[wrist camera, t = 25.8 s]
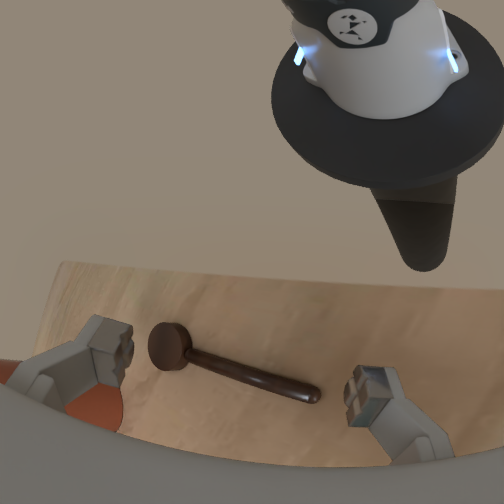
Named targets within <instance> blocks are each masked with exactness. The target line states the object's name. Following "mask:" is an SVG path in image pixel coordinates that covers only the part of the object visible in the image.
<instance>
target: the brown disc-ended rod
mask: <svg viewBox="0 0 504 504" xmlns="http://www.w3.org/2000/svg"><path fill="white" fill-rule="evenodd" d="M148 352H149V356H150V359H151V361H152V363H153V364H154V365H155V366H156V367H157V368H158V369H160V370H162V371H174V370H180V369H182V368H184V367H185V366H186V365H187V364H188V362H190V363H192V364H195V365H197V366H200V367H202V368H205V369H208V370H210V371H213V372H215V373H218V374H221V375H223V376H226V377H229V378H232V379H234V380H237V381H240V382H243V383H246V384H249V385H251V386H254V387H257V388H260V389H263V390H266V391H270V392H273V393H276V394H279V395H282V396H285V397H289V398H292V399H295V400H299V401H302V402H306V403H309V404H314V403H317V402H318V401H319V400H320V398H321V392H320V390H319V389H318V388H317V387H314V386H311V385H307V384H303V383H300V382H296V381H292V380H289V379H285V378H282V377H278V376H275V375H272V374H268V373H265V372H262V371H258V370H255V369H252V368H249V367H246V366H243V365H240V364H237V363H234V362H231V361H228V360H225V359H222V358H219V357H216V356H213V355H210V354H207V353H205V352H202V351H199V350H196V349H193V348H192V341H191V337H190V335H189V333H188V331H187V330H186V329H185V328H184V327H183V326H182V325H180V324H177V323H167V322H162V323H159V324H157V325H156V326H155V327H154V328H153V329H152V331H151V333H150V335H149V339H148Z"/></svg>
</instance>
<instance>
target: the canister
mask: <svg viewBox="0 0 504 504" xmlns="http://www.w3.org/2000/svg"><path fill="white" fill-rule="evenodd" d="M21 362H23V361H17V360H7V359H0V383H1V384H3V385H5V384H6V382H7V381H8V379H9V378H10V376H11V375H12V374H13V372H14V371H15V369H16V368H17V367H18V365H19V364H20V363H21ZM64 408H65V410H66V413H67V415H69V416H72V417H74V418H77V419H80V420H82V421H85V422H88V423H90V424H93V425H96V426H99V427H102V428H104V429H107V430H110V431H113V432H115V431H117V429H118V428H119V426H120V424H121V421H122V416H123V404H122V397H121V392H120V389H119V388H116V387H112V386H109V385H105V384H102V383H98V384H97V385H95V386H94V387H92V388H91V389H89V390H88V391H86V392H85V393H83V394H82V395H80V396H79V397H77V398H76V399H74V400H73V401H72V402H70V403H69V404H67V405H66V406H64Z"/></svg>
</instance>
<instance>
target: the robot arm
mask: <svg viewBox="0 0 504 504" xmlns="http://www.w3.org/2000/svg"><path fill="white" fill-rule="evenodd" d="M282 2H283V4H284V5H285V7H286V8H287V9H288V10H289V11H290V12H291V13H292V15H293V16H294V19H293V21H292V25H291V26H290V31H291V34H292V35H293V37H294V39H295V41H296V43H297V45H298V47H299V49H298V52H297V54H296V56H295V59H294V61H295V63H296V64H297V65H300V63H301V60H302V58H303V56H304V58H305V60H306V65H305V67H304V70H303V75H304V77H305V79H306V81H307V82H309V83H311V84H313V85H315V86H317V87H320V88H322V89H323V90H324V91H325V92H326V93H327V95H328V96H329V97H330V98H331V100H332V101H333V102H334V103H335V104H336V105H338V106H339V107H340V108H342V109H344V110H345V111H347V112H349V113H352V114H354V115H357V116H361V117H365V118H371V119H396V118H402V117H407V116H410V115H413V114H416V113H418V112H421V111H423V110H425V109H426V108H428V107H430V106H431V105H432V104H434V103H435V102H436V101H437V100H438V99H439V98H440V97H441V96H442V94H443V93H444V92H445V90H446V89H447V88H448V86H449V85H450V84H451V83H453V82H455V81H457V80H459V79H461V78H463V77H464V76H466V75H467V74H468V72H469V67H468V62H467V60H466V58H465V56H464V54H463V53H462V51H461V49H460V47H459V45H458V43H457V42H456V40H455V38H454V36H453V35H452V33H451V31H450V30H449V28H448V26H447V25H446V22H445V17H444V14H443V11H442V10H441V9H439V8H437V6H436V4H435V2H434V1H433V0H282ZM454 58H456V59H454ZM132 335H133V326H132V325H130V324H126V323H123V322H119V321H116V320H113V319H109V318H105V317H102V316H99V315H96V314H95V315H93V316H91V318H90V319H89V320H88V322H87V323H86V325H85V326H84V328H83V329H82V330H81V332H80V333H79V335H78V336H77V338H76V339H75V341H74V342H73V341H69V342H66V343H64V344H62V345H60V346H57V347H55V348H53V349H51V350H48V351H46V352H44V353H41V354H39V355H37V356H35V357H32V358H30V359H28V360H26V361H23V362H21V363H20V364H19V365H18V367H17V368H16V369H15V371H14V372H13V374H12V375H11V376H10V378H9V379H8V381H7V382H6V384H5V385H3V384H1V383H0V504H504V446H503V447H500V448H496V449H492V450H488V451H483V452H479V453H474V454H470V455H465V456H460V457H455V455H454V452H453V449H452V446H451V443H450V440H449V437H448V435H447V433H446V432H445V431H444V430H443V429H442V428H440V427H439V426H438V425H437V424H436V423H435V422H434V421H433V420H432V419H431V418H430V417H428V416H427V415H426V414H425V413H424V412H423V411H422V410H421V409H420V408H419V407H417V406H416V405H415V404H414V403H413V402H412V401H411V400H410V399H406V397H405V394H404V391H403V388H402V386H401V383H400V380H399V377H398V374H397V372H396V369H395V368H394V367H376V366H364V365H358V366H357V367H355V369H354V371H353V375H354V377H352V378H351V379H349V380H348V382H347V384H346V385H345V389H344V403H345V404H346V406H347V407H348V408H349V409H348V410H347V412H346V415H347V421H348V427H367V428H368V429H369V430H370V432H371V433H372V434H373V435H374V437H375V438H376V439H377V441H378V442H379V443H380V445H381V446H382V447H383V449H384V450H385V451H386V453H387V454H388V455H389V456H390V458H391V459H392V460H393V461H392V462H391V463H390V464H389V465H388V466H374V467H303V466H287V465H274V464H264V463H255V462H247V461H239V460H232V459H226V458H220V457H214V456H208V455H203V454H198V453H193V452H188V451H183V450H179V449H174V448H170V447H166V446H162V445H158V444H154V443H150V442H147V441H143V440H140V439H136V438H133V437H129V436H126V435H123V434H120V433H116V432H113V431H110V430H107V429H104V428H102V427H99V426H96V425H93V424H90V423H88V422H85V421H82V420H80V419H77V418H74V417H72V416H69V415H67V413H66V410H65V408H64V406H66V405H67V404H69V403H70V402H72V401H73V400H74V399H76V398H77V397H79V396H80V395H82V394H83V393H85V392H86V391H88V390H89V389H91V388H92V387H94V386H95V385H97V384H98V383H102V384H105V385H109V386H112V387H116V388H120V386H121V384H122V381H123V379H124V377H125V369H126V368H128V367H129V366H130V364H131V362H132V358H133V354H134V342H133V341H132V339H131V337H132Z"/></svg>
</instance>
